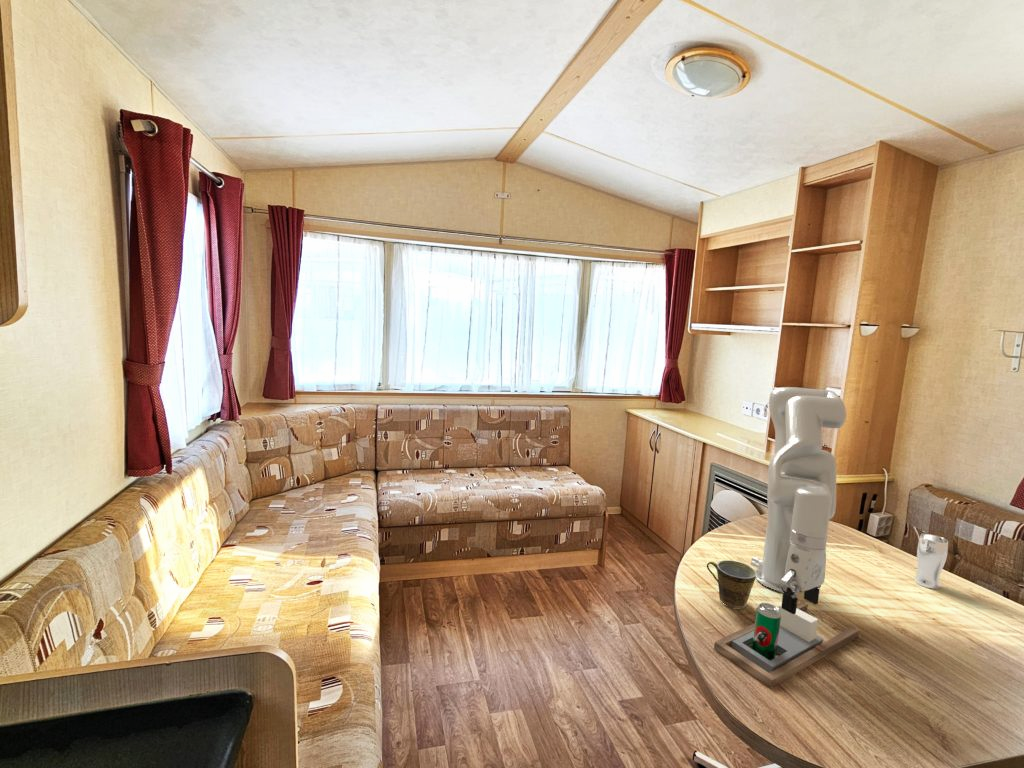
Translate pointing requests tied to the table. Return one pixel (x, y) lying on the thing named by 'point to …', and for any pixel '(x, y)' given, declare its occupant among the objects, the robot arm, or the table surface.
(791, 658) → the grey board with block
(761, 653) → the soda can
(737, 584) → the ceramic cup
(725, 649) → the track
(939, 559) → the beer glass
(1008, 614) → the table surface
